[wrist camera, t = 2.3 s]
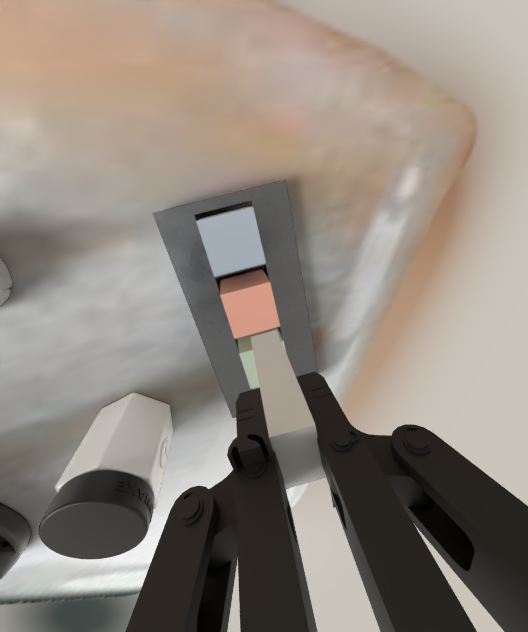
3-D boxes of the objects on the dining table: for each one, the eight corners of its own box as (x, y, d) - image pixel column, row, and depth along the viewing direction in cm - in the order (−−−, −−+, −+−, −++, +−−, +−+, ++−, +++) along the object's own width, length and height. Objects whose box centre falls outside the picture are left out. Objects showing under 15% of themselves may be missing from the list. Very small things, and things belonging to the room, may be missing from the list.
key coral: (232, 317, 25) (234, 339, 21) (220, 279, 23) (220, 295, 19) (271, 306, 25) (280, 326, 21) (261, 268, 24) (270, 281, 19)
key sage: (246, 361, 27) (250, 388, 23) (236, 330, 26) (239, 353, 22) (281, 351, 28) (291, 377, 23) (274, 319, 26) (283, 341, 22)
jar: (176, 442, 34) (154, 554, 23) (110, 448, 33) (54, 569, 22) (170, 389, 30) (141, 491, 19) (96, 393, 29) (21, 505, 18)
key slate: (215, 264, 23) (214, 276, 19) (201, 218, 21) (196, 221, 17) (258, 253, 23) (265, 263, 19) (247, 206, 21) (253, 206, 17)
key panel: (231, 400, 32) (232, 417, 30) (161, 212, 23) (152, 213, 20) (313, 376, 33) (321, 392, 30) (278, 182, 23) (285, 179, 20)
